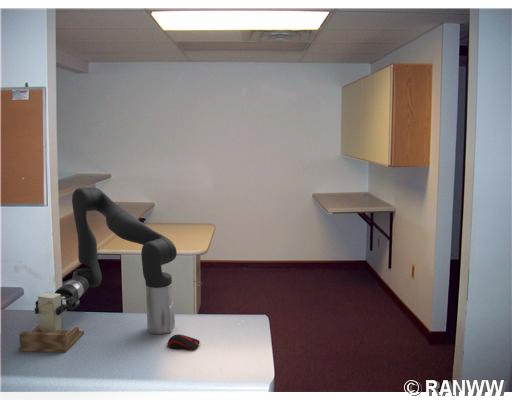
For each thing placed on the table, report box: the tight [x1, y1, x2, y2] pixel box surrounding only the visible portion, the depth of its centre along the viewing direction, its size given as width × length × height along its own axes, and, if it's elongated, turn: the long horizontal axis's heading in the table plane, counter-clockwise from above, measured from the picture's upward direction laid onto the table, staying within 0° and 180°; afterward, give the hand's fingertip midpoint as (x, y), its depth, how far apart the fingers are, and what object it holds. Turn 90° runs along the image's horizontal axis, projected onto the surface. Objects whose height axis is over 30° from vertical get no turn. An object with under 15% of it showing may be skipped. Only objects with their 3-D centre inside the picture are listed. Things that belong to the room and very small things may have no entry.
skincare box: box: [37, 291, 63, 332], centre depth 169 cm, size 6×4×12 cm
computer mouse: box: [166, 333, 201, 351], centre depth 168 cm, size 6×11×4 cm, turn 80°
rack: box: [18, 325, 85, 353], centre depth 170 cm, size 16×14×6 cm
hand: (46, 311), depth 167 cm, fingers closed on skincare box, 6 cm apart
